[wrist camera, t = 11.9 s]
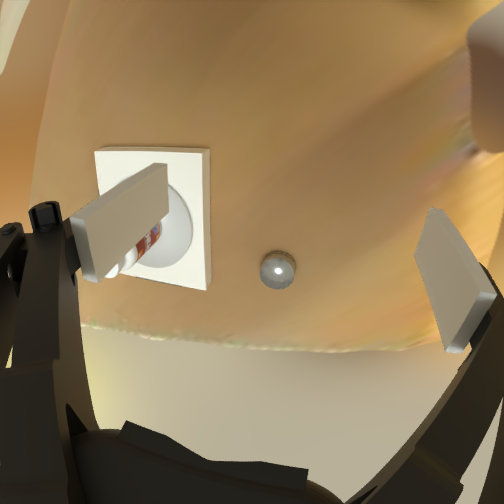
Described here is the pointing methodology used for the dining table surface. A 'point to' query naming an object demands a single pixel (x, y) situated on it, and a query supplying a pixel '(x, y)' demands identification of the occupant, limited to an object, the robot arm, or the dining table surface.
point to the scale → (180, 211)
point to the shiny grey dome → (278, 270)
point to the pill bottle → (137, 251)
